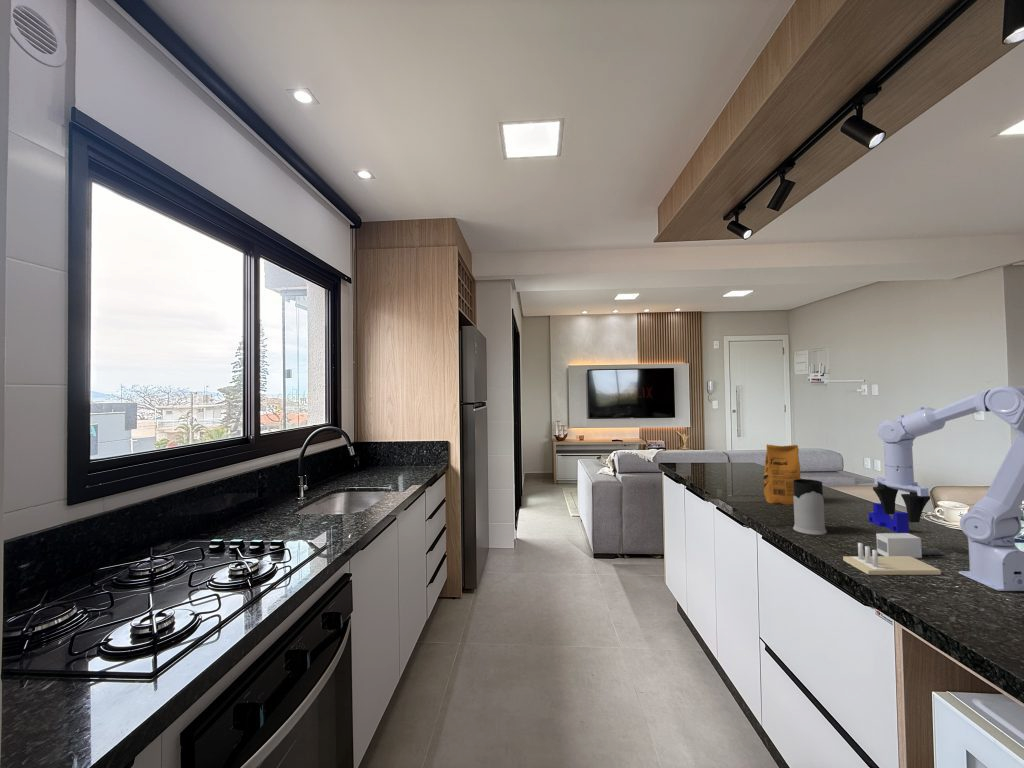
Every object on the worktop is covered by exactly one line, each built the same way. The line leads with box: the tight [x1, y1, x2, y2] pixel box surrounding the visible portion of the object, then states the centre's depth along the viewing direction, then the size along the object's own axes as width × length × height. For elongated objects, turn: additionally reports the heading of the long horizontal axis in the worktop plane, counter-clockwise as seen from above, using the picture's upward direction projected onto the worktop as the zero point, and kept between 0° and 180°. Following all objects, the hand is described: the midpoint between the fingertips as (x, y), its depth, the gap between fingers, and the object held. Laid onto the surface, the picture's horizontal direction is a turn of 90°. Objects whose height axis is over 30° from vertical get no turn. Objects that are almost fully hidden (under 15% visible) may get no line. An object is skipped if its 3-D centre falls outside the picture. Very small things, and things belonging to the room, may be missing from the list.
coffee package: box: [762, 443, 801, 506], centre depth 173 cm, size 10×12×22 cm
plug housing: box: [875, 532, 942, 559], centre depth 117 cm, size 4×14×5 cm, turn 86°
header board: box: [842, 542, 942, 576], centre depth 110 cm, size 9×16×5 cm, turn 86°
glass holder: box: [792, 478, 828, 536], centre depth 142 cm, size 9×14×15 cm, turn 167°
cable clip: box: [867, 502, 910, 534], centre depth 140 cm, size 12×4×6 cm, turn 168°
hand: (901, 517), depth 118 cm, fingers open, 7 cm apart
